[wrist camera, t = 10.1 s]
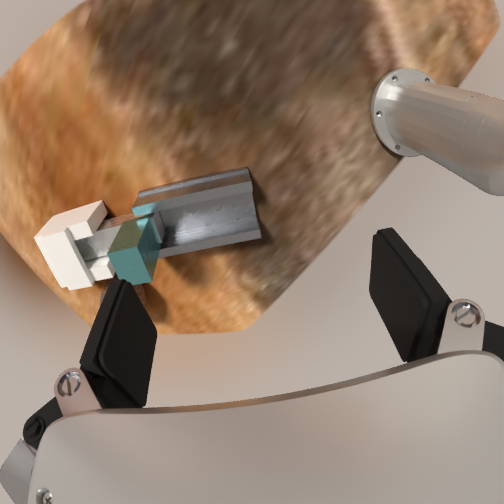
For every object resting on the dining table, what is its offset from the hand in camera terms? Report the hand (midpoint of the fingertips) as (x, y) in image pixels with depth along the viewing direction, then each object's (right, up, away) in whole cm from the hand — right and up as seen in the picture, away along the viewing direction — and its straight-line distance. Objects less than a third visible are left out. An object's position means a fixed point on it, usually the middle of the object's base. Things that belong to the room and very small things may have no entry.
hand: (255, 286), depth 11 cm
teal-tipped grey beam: (-19, +4, +26) cm, 32 cm away
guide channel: (-7, +7, +27) cm, 29 cm away
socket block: (-23, +4, +27) cm, 36 cm away
